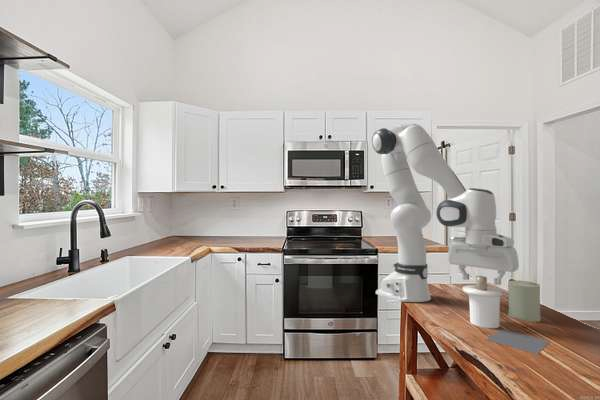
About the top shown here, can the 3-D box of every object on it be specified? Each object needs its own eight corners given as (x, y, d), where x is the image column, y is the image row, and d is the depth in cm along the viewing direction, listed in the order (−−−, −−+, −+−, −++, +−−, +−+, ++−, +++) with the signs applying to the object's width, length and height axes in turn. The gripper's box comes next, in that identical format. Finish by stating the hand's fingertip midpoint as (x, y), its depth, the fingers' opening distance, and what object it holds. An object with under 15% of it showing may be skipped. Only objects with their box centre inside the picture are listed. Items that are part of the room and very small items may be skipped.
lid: (456, 292, 106) (456, 276, 106) (470, 286, 113) (470, 272, 114) (494, 299, 98) (494, 282, 98) (506, 292, 105) (506, 277, 105)
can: (546, 323, 107) (546, 285, 107) (515, 321, 109) (514, 284, 109) (532, 313, 116) (532, 279, 116) (503, 312, 118) (503, 278, 118)
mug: (507, 329, 101) (507, 296, 101) (483, 332, 99) (482, 298, 99) (481, 318, 112) (480, 287, 112) (458, 320, 110) (457, 289, 110)
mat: (486, 342, 92) (486, 339, 92) (500, 331, 100) (500, 328, 100) (537, 357, 83) (537, 354, 83) (549, 343, 91) (549, 340, 91)
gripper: (444, 237, 112) (444, 277, 111) (513, 241, 96) (514, 289, 96) (452, 235, 116) (452, 275, 116) (520, 240, 101) (520, 285, 100)
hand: (481, 281), depth 106 cm, fingers open, 8 cm apart
